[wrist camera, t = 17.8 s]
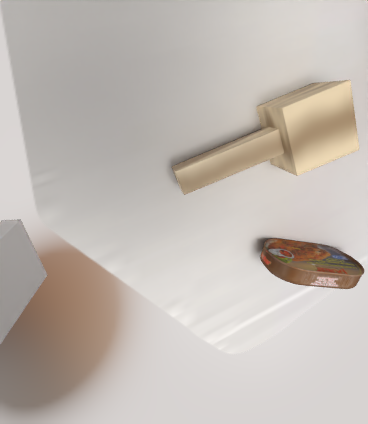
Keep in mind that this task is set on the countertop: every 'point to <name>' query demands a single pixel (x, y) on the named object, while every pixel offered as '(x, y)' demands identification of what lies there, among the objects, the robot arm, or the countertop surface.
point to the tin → (310, 264)
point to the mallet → (283, 137)
